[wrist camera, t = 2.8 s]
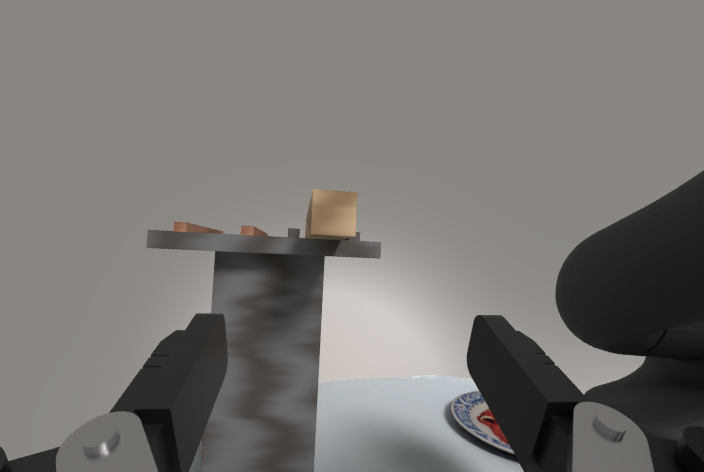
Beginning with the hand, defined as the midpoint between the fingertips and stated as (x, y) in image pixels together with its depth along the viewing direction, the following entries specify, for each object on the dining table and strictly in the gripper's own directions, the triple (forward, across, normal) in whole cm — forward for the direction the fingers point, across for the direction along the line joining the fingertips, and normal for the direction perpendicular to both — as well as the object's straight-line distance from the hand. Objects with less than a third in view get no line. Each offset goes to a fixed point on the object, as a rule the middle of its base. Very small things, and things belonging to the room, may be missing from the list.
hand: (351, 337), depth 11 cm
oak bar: (+22, +1, +5) cm, 23 cm away
